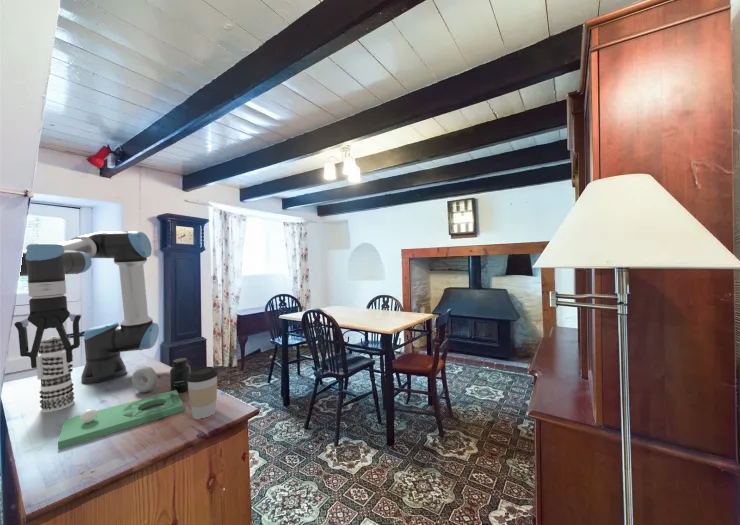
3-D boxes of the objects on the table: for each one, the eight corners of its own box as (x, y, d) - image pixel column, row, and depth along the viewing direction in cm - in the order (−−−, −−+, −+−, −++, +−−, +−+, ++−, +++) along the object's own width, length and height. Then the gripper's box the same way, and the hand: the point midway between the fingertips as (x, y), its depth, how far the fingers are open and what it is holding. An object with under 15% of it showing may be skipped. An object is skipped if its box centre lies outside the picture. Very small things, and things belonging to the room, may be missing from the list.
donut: (160, 390, 121) (159, 365, 120) (153, 394, 117) (152, 368, 117) (137, 389, 122) (136, 365, 121) (129, 393, 118) (128, 368, 118)
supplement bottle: (176, 395, 116) (174, 364, 115) (167, 391, 119) (165, 361, 119) (194, 388, 121) (193, 358, 121) (185, 384, 125) (184, 355, 125)
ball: (81, 421, 95) (80, 409, 95) (98, 417, 97) (97, 404, 97) (79, 427, 92) (78, 414, 92) (97, 422, 94) (96, 409, 94)
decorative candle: (39, 407, 110) (34, 338, 109) (74, 397, 116) (70, 332, 116) (38, 416, 103) (33, 343, 102) (76, 405, 110) (72, 336, 109)
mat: (66, 425, 97) (65, 419, 97) (176, 394, 116) (176, 389, 116) (58, 449, 85) (57, 442, 84) (183, 410, 104) (183, 405, 103)
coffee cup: (187, 424, 95) (185, 376, 95) (189, 411, 103) (187, 367, 103) (219, 416, 99) (217, 370, 99) (219, 404, 107) (217, 362, 107)
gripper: (-3, 301, 80) (3, 388, 81) (88, 294, 91) (92, 370, 92) (5, 298, 86) (11, 380, 87) (90, 292, 97) (94, 364, 98)
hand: (53, 375), depth 89 cm, fingers open, 4 cm apart
